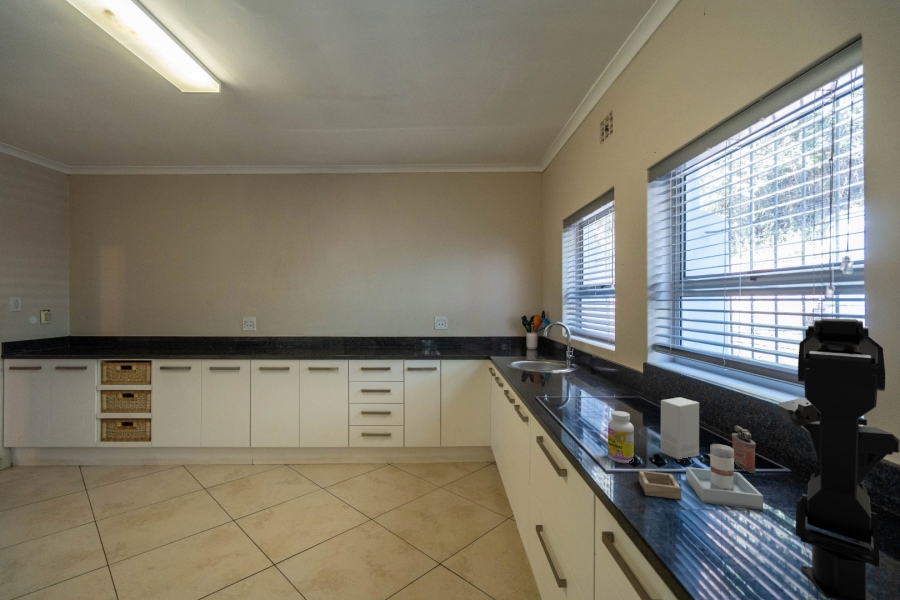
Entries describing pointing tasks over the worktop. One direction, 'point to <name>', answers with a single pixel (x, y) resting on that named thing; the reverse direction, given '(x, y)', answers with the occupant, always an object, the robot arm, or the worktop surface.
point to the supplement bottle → (620, 438)
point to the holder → (659, 484)
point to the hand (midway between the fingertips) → (837, 470)
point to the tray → (739, 497)
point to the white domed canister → (721, 467)
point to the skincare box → (680, 428)
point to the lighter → (744, 450)
